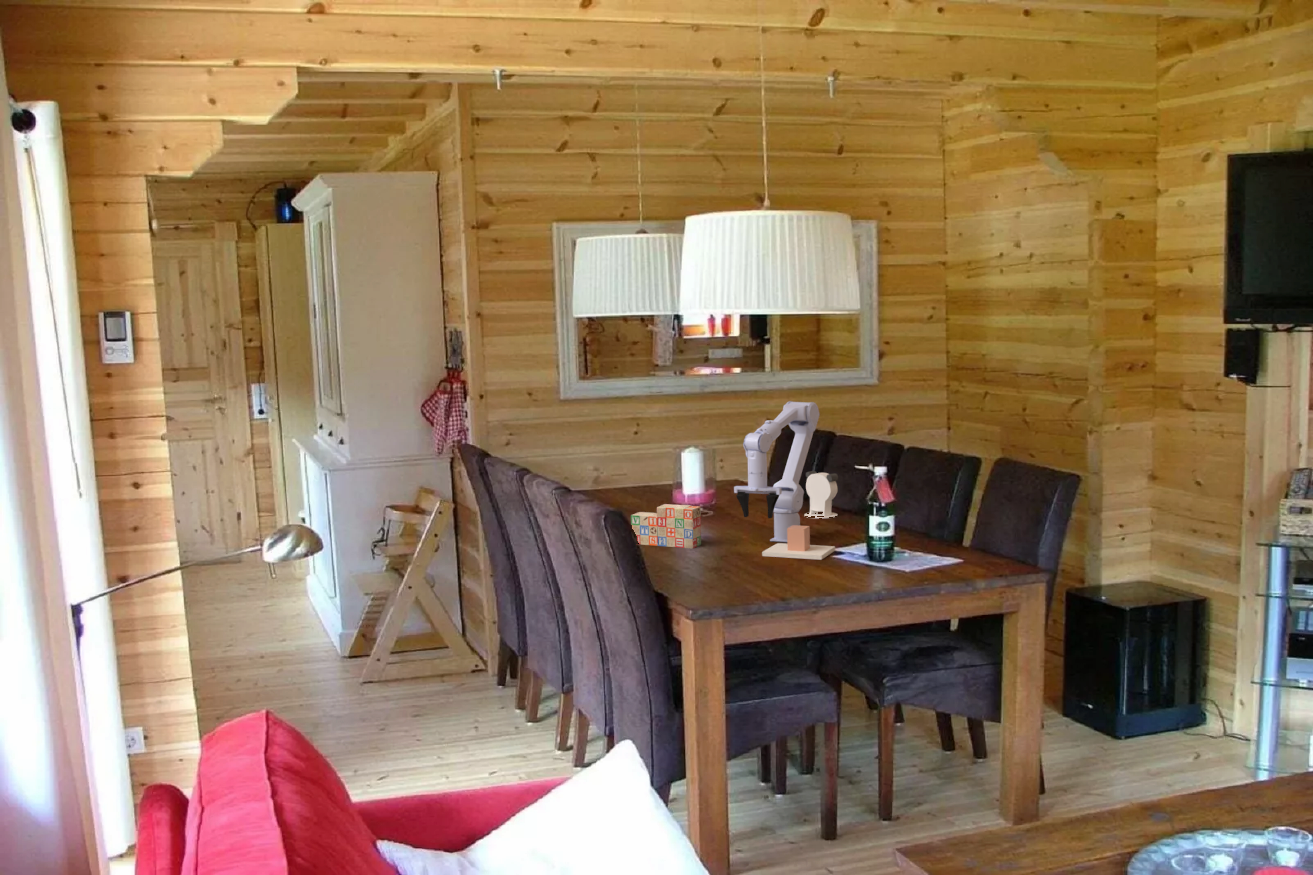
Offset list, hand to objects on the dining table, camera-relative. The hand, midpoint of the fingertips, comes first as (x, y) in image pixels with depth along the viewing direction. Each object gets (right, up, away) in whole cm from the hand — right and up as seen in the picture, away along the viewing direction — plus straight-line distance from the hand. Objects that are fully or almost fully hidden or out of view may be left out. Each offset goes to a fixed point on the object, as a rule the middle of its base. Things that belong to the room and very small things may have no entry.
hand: (758, 517), depth 381 cm
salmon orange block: (+11, -9, -9) cm, 17 cm away
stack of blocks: (-28, -9, +11) cm, 31 cm away
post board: (+11, -10, -8) cm, 17 cm away
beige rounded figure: (+26, -3, +54) cm, 60 cm away
